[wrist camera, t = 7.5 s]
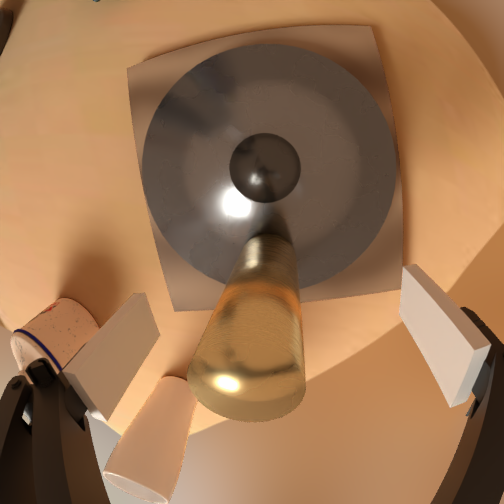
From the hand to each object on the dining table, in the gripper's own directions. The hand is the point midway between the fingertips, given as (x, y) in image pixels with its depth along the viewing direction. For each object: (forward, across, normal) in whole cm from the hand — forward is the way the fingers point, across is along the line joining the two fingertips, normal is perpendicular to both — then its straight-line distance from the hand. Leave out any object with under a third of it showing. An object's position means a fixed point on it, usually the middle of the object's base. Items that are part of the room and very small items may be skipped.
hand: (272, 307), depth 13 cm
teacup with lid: (+10, +27, +9) cm, 30 cm away
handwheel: (+8, 0, -6) cm, 10 cm away
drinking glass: (+10, +14, +17) cm, 24 cm away
